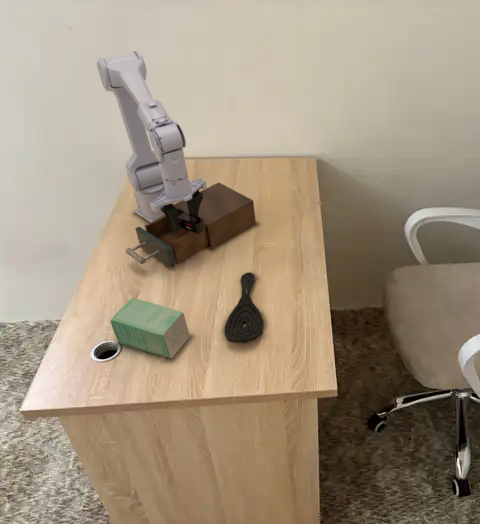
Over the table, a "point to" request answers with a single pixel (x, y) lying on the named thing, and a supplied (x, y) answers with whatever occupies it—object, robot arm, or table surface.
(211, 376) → the table surface
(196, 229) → the wireless earbuds
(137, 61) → the robot arm
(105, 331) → the table surface
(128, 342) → the box
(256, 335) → the hairbrush
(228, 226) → the cabinet
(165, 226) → the drawer
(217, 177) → the table surface
